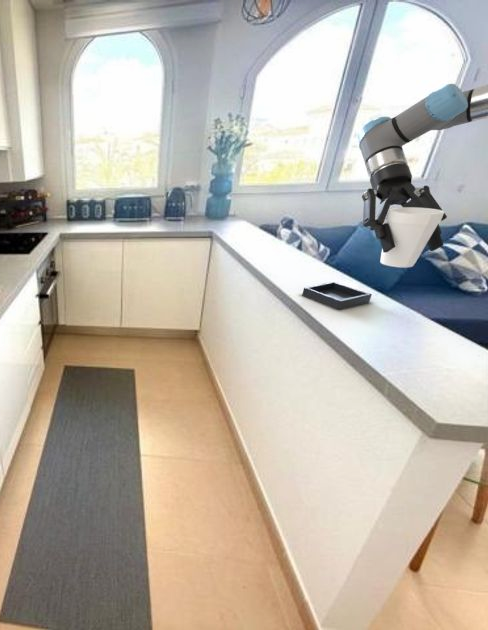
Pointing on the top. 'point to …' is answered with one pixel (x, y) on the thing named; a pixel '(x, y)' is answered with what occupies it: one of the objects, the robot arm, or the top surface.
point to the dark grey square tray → (336, 295)
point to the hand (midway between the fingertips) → (412, 248)
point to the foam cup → (409, 234)
